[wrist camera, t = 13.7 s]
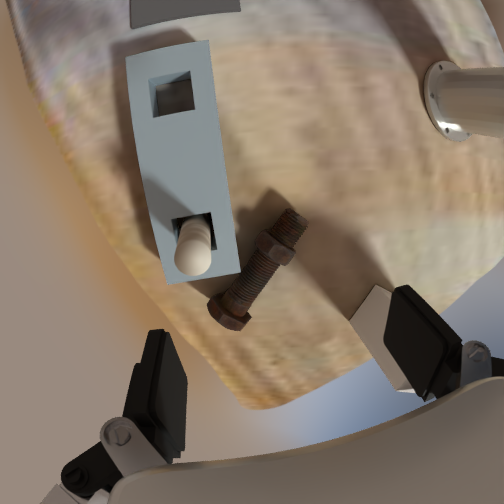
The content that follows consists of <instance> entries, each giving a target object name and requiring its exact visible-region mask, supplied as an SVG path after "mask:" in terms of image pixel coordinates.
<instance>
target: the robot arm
mask: <svg viewBox="0 0 504 504" xmlns="http://www.w3.org/2000/svg"><path fill="white" fill-rule="evenodd" d="M424 97H425V102H426V107H427V110H428V113H429V115H430V118H431V120H432V122H433V123H434V125H435V127H436V128H437V129H438V131H439V132H440V133H441V134H442V135H443V136H444V137H446V138H448V139H449V140H453V141H459V142H461V141H465V140H467V139H468V138H469V137H470V136H471V135H472V134H478V135H484V136H490V137H495V138H501V139H504V67H493V68H471V69H461V68H460V67H458V66H457V65H456V64H454V63H452V62H449V61H439V62H435V63H434V64H432V65H431V66H430V67H429V69H428V71H427V73H426V75H425V80H424ZM383 342H384V345H385V346H386V348H387V349H388V351H389V352H390V354H391V355H392V357H393V358H394V360H395V361H396V363H397V364H398V366H399V367H400V369H401V371H402V372H403V374H404V375H405V377H406V378H407V380H408V381H409V383H410V384H411V386H412V388H413V389H414V391H415V392H416V394H417V395H418V396H419V397H422V399H423V400H424V402H426V401H428V400H430V399H432V398H434V397H436V398H437V400H435V401H433V402H431V403H429V404H427V405H424V406H422V407H420V408H418V409H416V410H414V411H411V412H409V413H407V414H404V415H402V416H399V417H397V418H395V419H392V420H389V421H387V422H384V423H381V424H379V425H376V426H373V427H371V428H368V429H365V430H362V431H359V432H356V433H353V434H350V435H346V436H343V437H339V438H336V439H332V440H329V441H325V442H322V443H317V444H314V445H309V446H306V447H301V448H296V449H291V450H286V451H281V452H276V453H270V454H264V455H257V456H250V457H242V458H235V459H225V460H215V461H201V462H188V463H175V464H172V463H173V458H180V456H181V451H184V450H185V429H186V404H187V385H188V383H187V376H186V374H185V372H184V369H183V366H182V364H181V361H180V359H179V356H178V354H177V351H176V349H175V346H174V344H173V341H172V338H171V336H170V333H169V332H165V331H164V329H156V330H150V331H149V332H148V336H147V339H146V343H145V347H144V351H143V355H142V359H141V363H136V364H135V366H134V369H133V373H132V376H131V381H130V385H129V389H128V394H127V397H126V402H125V406H124V411H123V415H122V417H115V418H112V419H110V420H108V421H107V422H106V423H105V424H104V425H103V426H102V428H101V431H100V440H101V441H100V442H98V443H97V444H96V445H94V446H93V447H91V448H90V449H88V450H87V451H85V452H84V453H82V454H81V455H79V456H78V457H76V458H75V459H73V460H72V461H70V462H69V463H68V464H66V465H65V466H64V468H63V470H62V472H61V481H62V482H61V484H60V485H58V484H56V485H55V486H54V487H53V489H52V490H51V491H50V492H49V493H48V494H47V496H46V497H45V498H44V499H43V501H42V502H41V503H40V504H504V359H500V358H495V357H491V353H490V350H489V348H488V347H487V346H486V345H485V344H483V343H482V342H479V341H468V342H467V343H465V344H464V346H463V345H462V344H461V342H462V339H461V338H460V337H459V336H458V335H457V334H456V333H455V332H454V330H453V329H451V327H450V326H449V325H448V324H447V323H446V322H445V321H444V320H443V319H442V318H441V317H440V316H439V315H438V314H437V313H436V312H435V311H434V309H433V308H432V307H431V306H430V305H429V304H428V303H427V302H426V301H425V300H424V299H423V298H422V297H421V296H420V295H419V294H418V293H417V292H416V291H415V290H413V289H412V288H411V287H410V286H409V285H403V286H400V287H396V288H395V290H394V292H392V295H391V301H390V306H389V312H388V317H387V322H386V327H385V331H384V336H383Z"/></svg>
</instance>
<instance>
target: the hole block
mask: <svg viewBox="0 0 504 504" xmlns="http://www.w3.org/2000/svg"><path fill="white" fill-rule="evenodd" d="M125 60H126V72H127V83H128V92H129V101H130V109H131V117H132V124H133V130H134V137H135V143H136V149H137V155H138V161H139V166H140V172H141V177H142V182H143V187H144V192H145V197H146V201H147V206H148V210H149V215H150V219H151V223H152V228H153V232H154V236H155V240H156V244H157V248H158V252H159V255H160V259H161V263H162V266H163V270H164V274H165V277H166V281H167V284H168V285H169V284H175V283H181V282H187V281H193V280H199V279H205V278H211V277H217V276H223V275H228V274H234V273H240V272H241V269H240V263H239V256H238V250H237V243H236V237H235V230H234V223H233V217H232V210H231V203H230V196H229V189H228V182H227V175H226V168H225V161H224V154H223V147H222V140H221V132H220V125H219V118H218V110H217V103H216V95H215V87H214V79H213V72H212V64H211V56H210V47H209V40H204V41H197V42H191V43H185V44H179V45H174V46H169V47H164V48H159V49H155V50H151V51H147V52H143V53H139V54H135V55H131V56H128V57H125ZM187 79H191V81H192V89H193V96H194V104H195V110H190V111H184V112H179V113H174V114H169V115H164V116H160V117H159V111H158V104H157V96H156V87H155V86H158V85H162V84H167V83H172V82H177V81H182V80H187ZM208 212H211V216H212V222H213V227H214V233H215V237H210V240H211V264H210V267H209V268H208V270H207V271H206V272H204V273H203V274H201V275H197V276H189V275H186V274H183V273H182V272H180V271H179V270H178V268H177V267H176V265H175V262H174V255H175V251H176V247H177V243H178V239H179V235H180V230H179V226H178V221H177V218H180V217H185V216H191V215H196V214H202V213H208Z"/></svg>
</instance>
